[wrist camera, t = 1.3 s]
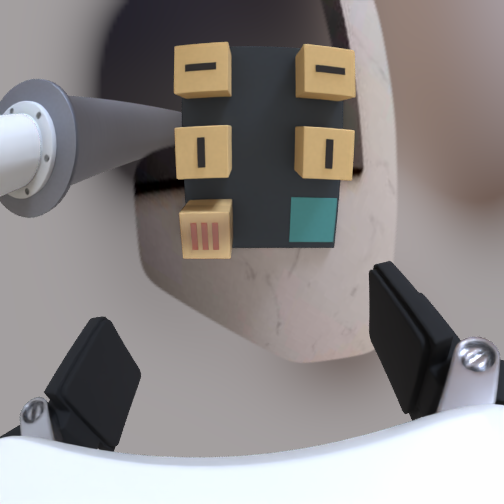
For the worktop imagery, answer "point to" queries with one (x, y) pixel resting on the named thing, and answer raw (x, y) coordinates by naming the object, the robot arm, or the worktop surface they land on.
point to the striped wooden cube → (207, 229)
